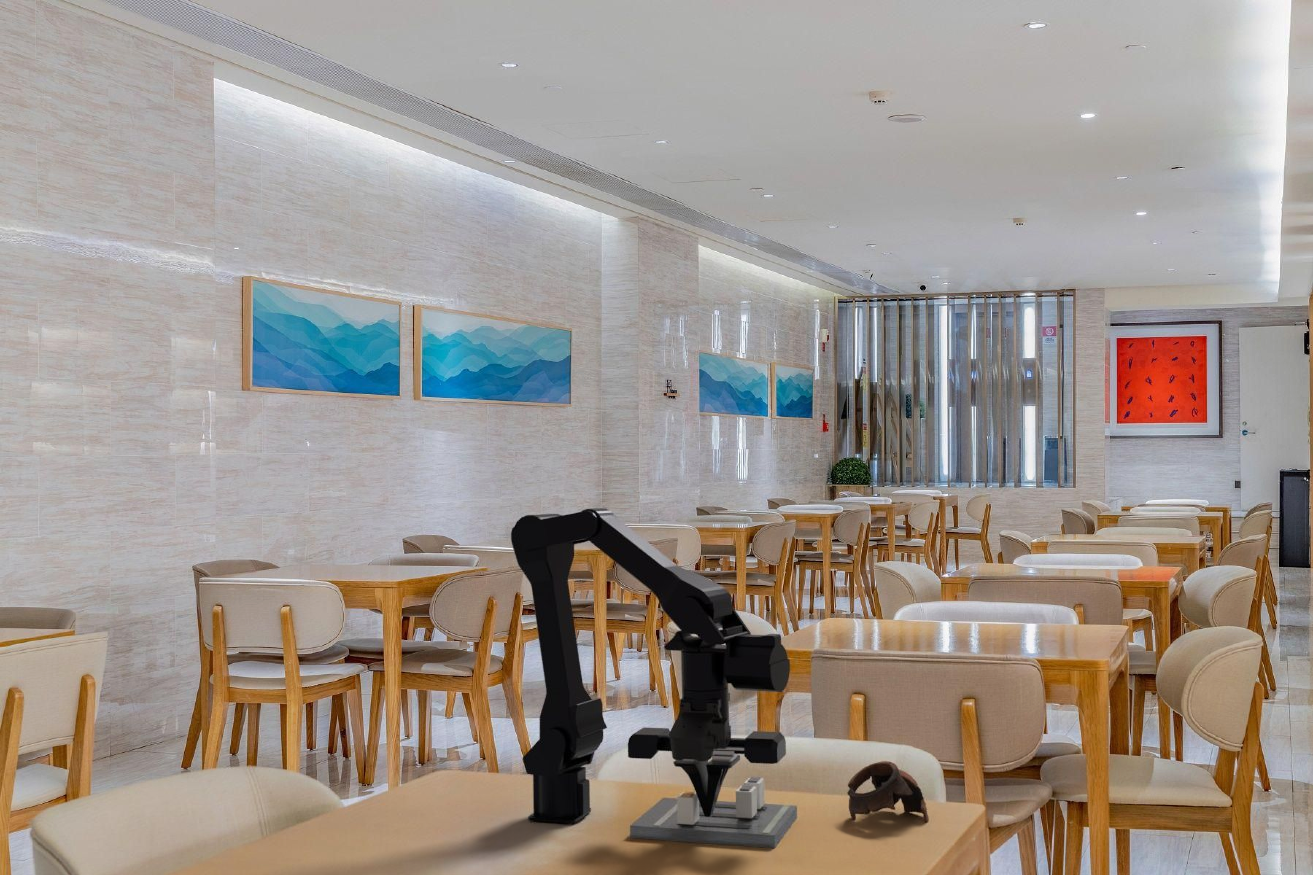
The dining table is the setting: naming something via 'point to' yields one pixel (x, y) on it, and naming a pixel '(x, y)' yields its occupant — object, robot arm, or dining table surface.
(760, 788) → the block
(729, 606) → the robot arm
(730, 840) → the panel
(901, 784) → the brown curved band frame
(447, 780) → the dining table surface
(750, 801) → the breaker
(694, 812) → the block
